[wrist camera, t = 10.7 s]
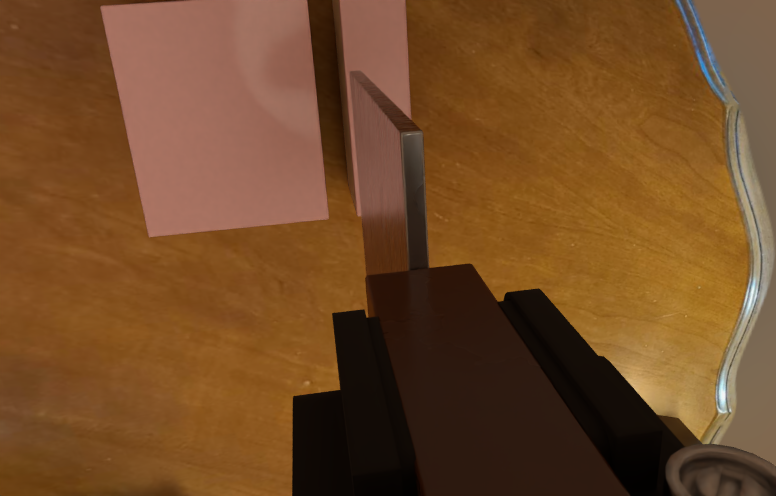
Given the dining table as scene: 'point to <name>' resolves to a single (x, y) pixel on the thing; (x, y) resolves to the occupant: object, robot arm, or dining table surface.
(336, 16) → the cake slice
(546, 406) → the kitchen knife
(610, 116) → the dining table surface
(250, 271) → the dining table surface
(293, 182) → the sponge cake
